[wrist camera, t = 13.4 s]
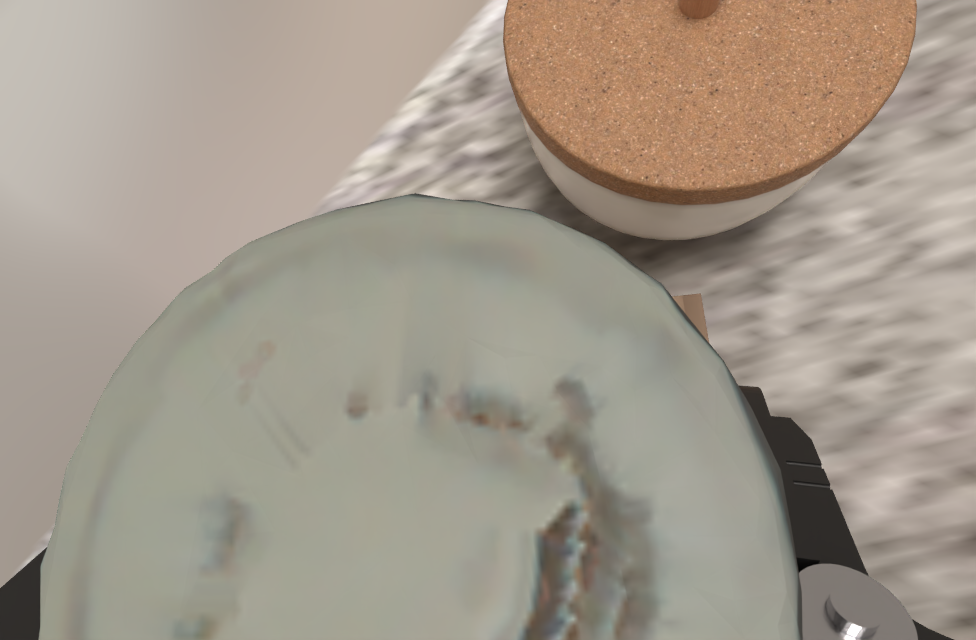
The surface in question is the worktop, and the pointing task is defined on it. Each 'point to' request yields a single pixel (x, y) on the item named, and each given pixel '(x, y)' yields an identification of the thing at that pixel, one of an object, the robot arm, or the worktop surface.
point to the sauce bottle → (422, 451)
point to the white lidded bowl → (697, 100)
